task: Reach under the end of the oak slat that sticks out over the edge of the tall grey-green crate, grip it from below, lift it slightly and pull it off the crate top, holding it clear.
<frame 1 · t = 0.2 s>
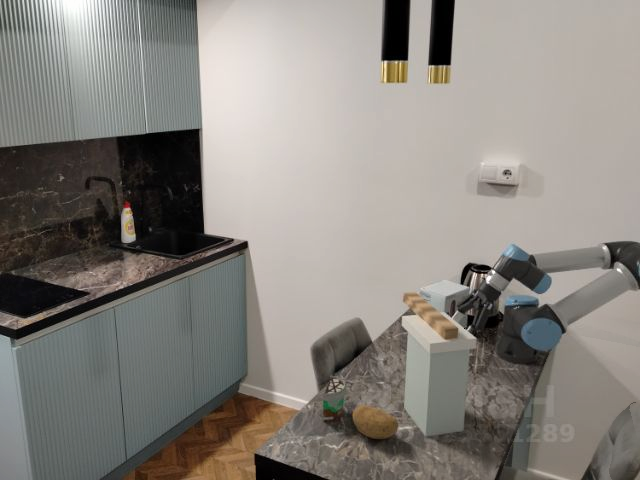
hand: (455, 335, 204), 15 cm above the table, tool tilted 35°, fingers open, 13 cm apart
potato: (375, 436, 172), on the table
supplement box: (442, 329, 247), on the table
oak slat: (428, 318, 179), point 30 cm above the table, touching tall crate
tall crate: (432, 418, 181), on the table
food container: (336, 415, 183), on the table
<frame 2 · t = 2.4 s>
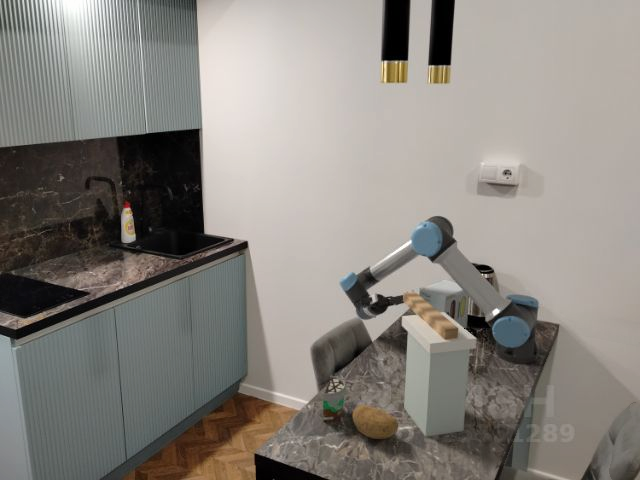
hand: (394, 295, 205), 28 cm above the table, tool pointing upward, fingers open, 13 cm apart
nothing on the table moved.
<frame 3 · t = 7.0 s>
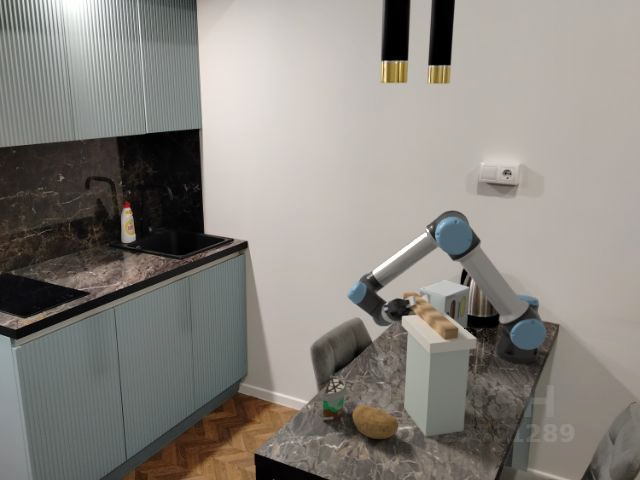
hand: (421, 299, 183), 34 cm above the table, tool pointing upward, fingers closed on oak slat, 4 cm apart
oak slat: (428, 318, 179), point 30 cm above the table, touching gripper, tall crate
everything else where it was.
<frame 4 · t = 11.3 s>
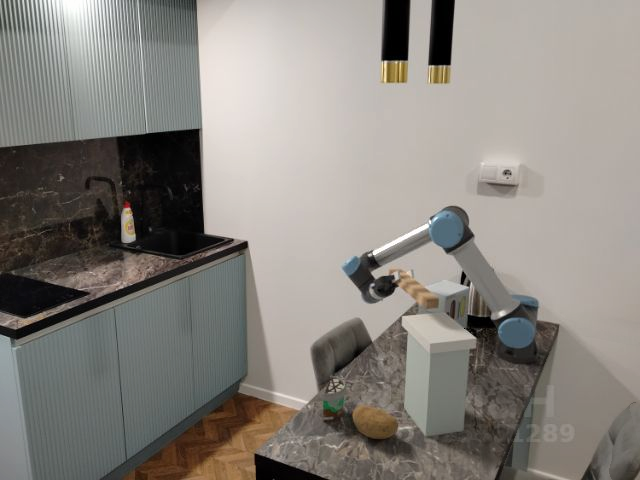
hand: (405, 274, 194), 38 cm above the table, tool pointing upward, fingers closed on oak slat, 4 cm apart
oak slat: (411, 291, 190), point 34 cm above the table, touching gripper
everything else where it was.
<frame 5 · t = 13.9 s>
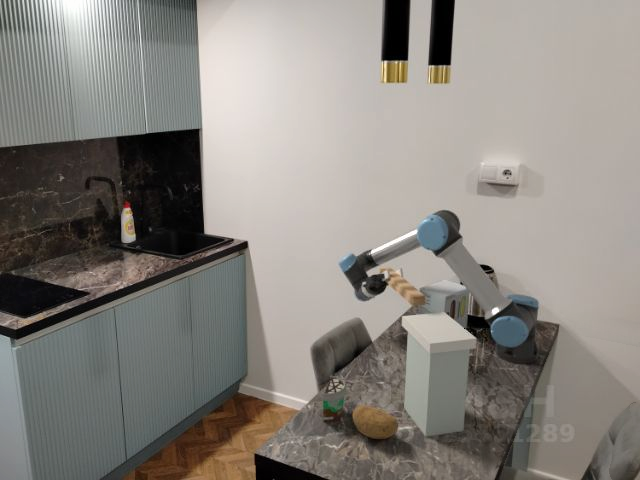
hand: (395, 272, 203), 36 cm above the table, tool pointing upward, fingers closed on oak slat, 4 cm apart
oak slat: (400, 289, 200), point 31 cm above the table, touching gripper
everything else where it was.
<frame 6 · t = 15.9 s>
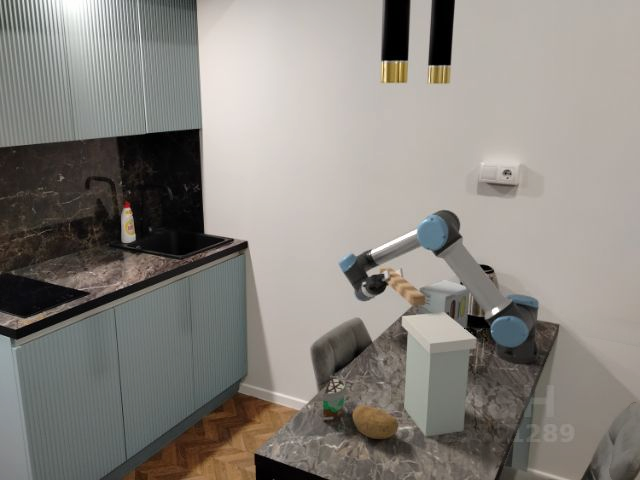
hand: (395, 272, 203), 36 cm above the table, tool pointing upward, fingers closed on oak slat, 4 cm apart
oak slat: (400, 289, 200), point 31 cm above the table, touching gripper
everything else where it was.
at the end: the gripper is holding oak slat; oak slat touching gripper; oak slat moved 22.0 cm from its start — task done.
